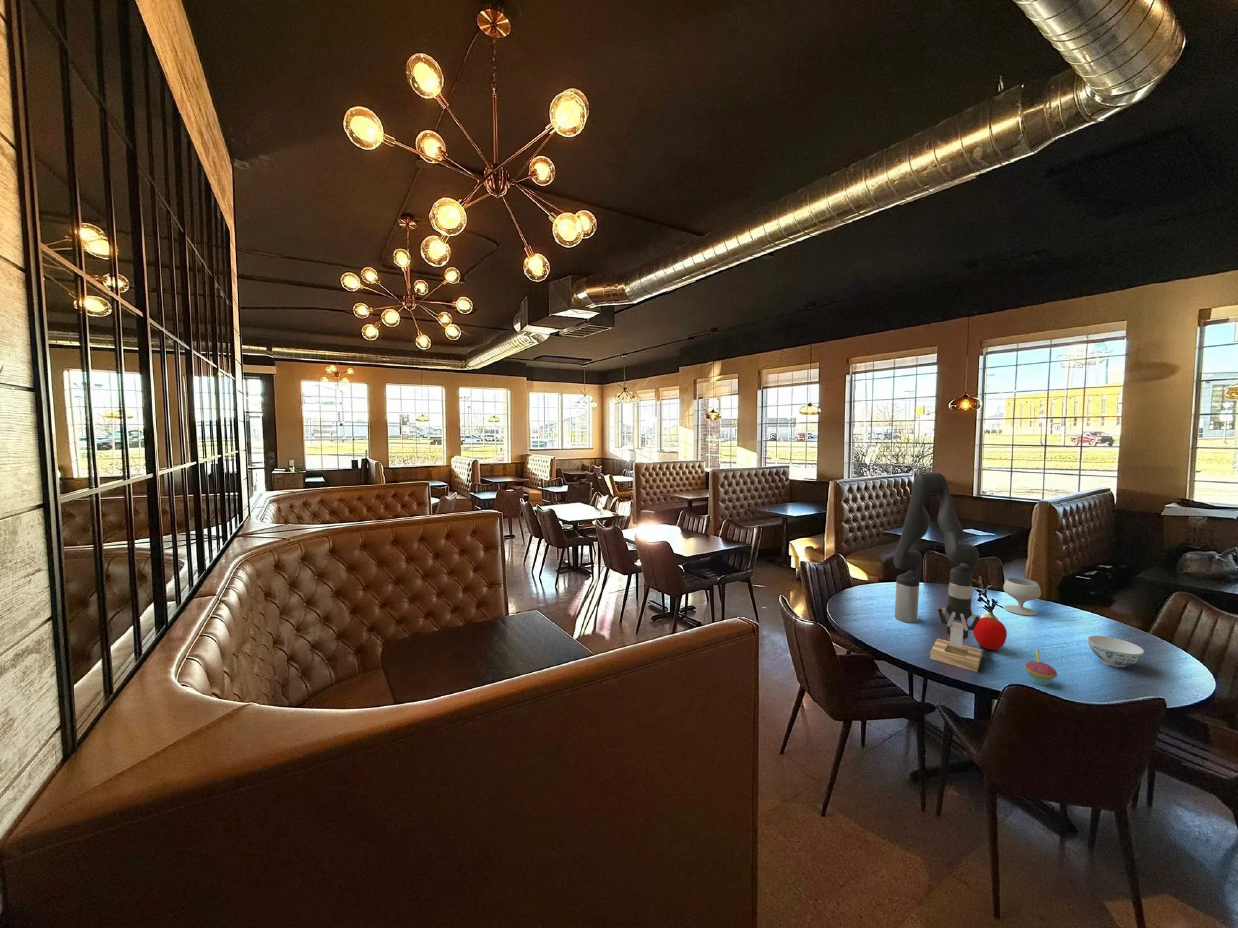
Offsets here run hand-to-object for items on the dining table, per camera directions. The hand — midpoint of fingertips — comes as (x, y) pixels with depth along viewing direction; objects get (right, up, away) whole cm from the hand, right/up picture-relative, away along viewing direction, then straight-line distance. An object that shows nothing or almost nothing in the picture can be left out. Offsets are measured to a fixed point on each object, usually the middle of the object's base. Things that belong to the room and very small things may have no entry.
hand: (957, 636), depth 188 cm
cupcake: (+18, -11, -16) cm, 27 cm away
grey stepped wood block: (0, -3, 0) cm, 3 cm away
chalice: (+64, -4, +46) cm, 79 cm away
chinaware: (+58, -9, -4) cm, 59 cm away
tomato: (+20, -8, +9) cm, 23 cm away
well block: (0, -9, +1) cm, 9 cm away
